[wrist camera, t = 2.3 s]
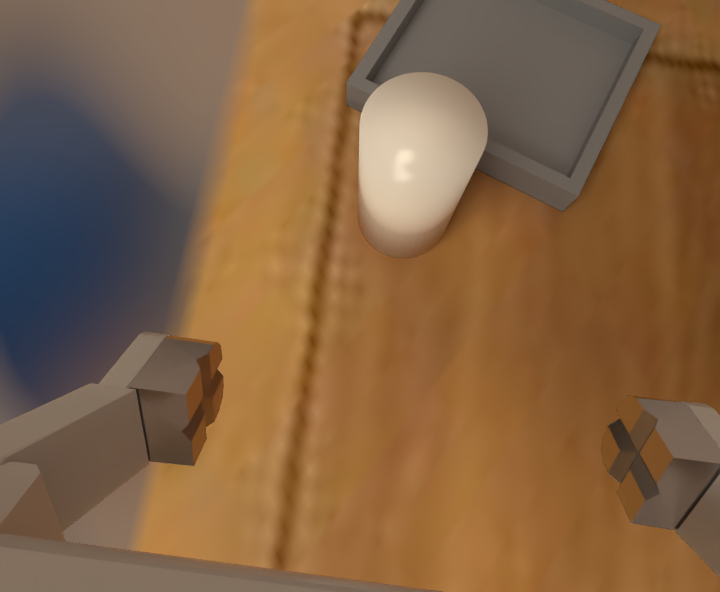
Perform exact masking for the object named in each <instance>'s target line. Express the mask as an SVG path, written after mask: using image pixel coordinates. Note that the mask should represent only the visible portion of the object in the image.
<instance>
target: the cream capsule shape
mask: <svg viewBox="0 0 720 592" xmlns="http://www.w3.org/2000/svg"><path fill="white" fill-rule="evenodd" d="M487 137H488V125H487V119H486V116H485V113H484V111H483V108H482V106H481V104H480V103H479V101H478V100H477V98H476V97H475V96H474V95H473V94H472V93H471V92H470V91H469V90H468V89H467V88H466V87H464V86H463V85H462V84H460V83H459V82H457V81H455V80H453V79H451V78H449V77H446V76H443V75H440V74H435V73H429V72H413V73H407V74H403V75H400V76H397V77H394V78H392V79H390V80H388V81H386V82H385V83H383V84H382V85H381V86H379V87H378V88H377V89H376V90H375V91H374V92H373V93H372V94H371V96H370V97H369V98H368V100H367V101H366V103H365V105H364V107H363V110H362V113H361V118H360V131H359V194H358V221H359V226H360V229H361V232H362V234H363V236H364V237H365V239H366V240H367V242H368V243H369V244H370V245H371V246H372V247H374V248H375V249H376V250H378V251H379V252H381V253H383V254H385V255H388V256H391V257H396V258H412V257H416V256H419V255H422V254H424V253H426V252H427V251H429V250H430V249H432V248H433V247H434V246H435V245H436V244H437V243H438V242H439V240H440V239H441V237H442V235H443V233H444V231H445V229H446V227H447V225H448V223H449V221H450V219H451V217H452V215H453V213H454V211H455V209H456V207H457V205H458V203H459V201H460V199H461V197H462V194H463V192H464V190H465V188H466V186H467V184H468V182H469V180H470V178H471V176H472V174H473V172H474V170H475V168H476V166H477V164H478V162H479V160H480V158H481V156H482V154H483V151H484V149H485V146H486V143H487Z"/></svg>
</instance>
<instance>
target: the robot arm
mask: <svg viewBox="0 0 720 592" xmlns="http://www.w3.org/2000/svg"><path fill="white" fill-rule="evenodd" d="M221 360H222V351H221V345H220V344H219V343H218V342H212V341H205V340H198V339H192V338H185V337H179V336H172V335H170V336H168V335H163V334H156V333H149V332H145V333H142V334H140V335H138V337H137V338H136V339H135V340H134V341H133V343H132V344H131V345H130V346H129V348H128V349H127V350H126V351H125V352H124V354H123V355H122V356H121V357H120V359H119V360H118V361H117V362H116V363H115V365H114V366H113V367H112V368H111V370H110V371H109V372H108V373H107V374H106V375H105V377H104V378H103V379H102V380H101V382H100V383H99V384H88V385H86V386H84V387H82V388H79V389H77V390H75V391H73V392H71V393H68V394H66V395H64V396H62V397H60V398H58V399H55V400H53V401H51V402H49V403H47V404H45V405H42V406H40V407H38V408H36V409H34V410H32V411H29V412H27V413H25V414H23V415H21V416H19V417H16V418H14V419H12V420H10V421H8V422H5V423H3V424H1V425H0V592H442V591H434V590H427V589H419V588H412V587H404V586H397V585H389V584H382V583H374V582H367V581H359V580H352V579H344V578H337V577H329V576H322V575H314V574H307V573H299V572H291V571H284V570H276V569H269V568H261V567H254V566H246V565H239V564H231V563H224V562H216V561H208V560H201V559H193V558H186V557H178V556H171V555H163V554H156V553H148V552H141V551H133V550H125V549H118V548H110V547H103V546H95V545H88V544H80V543H73V542H66V540H65V538H64V535H63V531H64V530H65V529H67V528H68V527H69V526H70V525H72V524H73V523H74V522H75V521H77V520H78V519H79V518H81V517H82V516H83V515H84V514H86V513H87V512H88V511H90V510H91V509H92V508H93V507H95V506H96V505H97V504H99V503H100V502H101V501H102V500H104V499H105V498H106V497H107V496H109V495H110V494H111V493H113V492H114V491H115V490H117V489H118V488H119V487H120V486H122V485H123V484H124V483H126V482H127V481H128V480H129V479H131V478H132V477H133V476H134V475H136V474H137V473H138V472H140V471H141V470H142V469H143V468H145V467H146V466H147V465H149V461H151V462H160V463H170V464H180V465H190V466H194V465H195V463H196V461H197V458H198V456H199V454H200V452H201V450H202V448H203V445H204V443H205V441H206V439H207V438H206V427H207V426H208V425H210V424H211V423H213V422H214V421H215V419H216V417H217V414H218V412H219V409H220V405H221V401H222V397H223V387H224V383H223V375H222V374H221V373H220V372H219V371H218V369H217V368H218V366H219V364H220V362H221ZM616 411H617V413H618V416H619V419H618V420H616V421H615V422H613V423H611V424H610V425H608V426H607V428H606V430H605V433H604V435H603V437H602V445H601V454H602V459H603V463H604V465H605V467H606V470H607V472H608V473H609V474H610V475H611V476H612V477H613V478H614V479H616V480H617V481H618V482H619V483H620V485H619V487H618V490H617V494H618V496H619V499H620V501H621V503H622V505H623V507H624V509H625V512H626V514H627V516H628V518H629V520H630V522H631V523H633V524H640V525H646V526H652V527H659V528H665V529H671V530H677V531H676V533H677V534H678V535H679V536H680V537H681V538H682V539H683V540H684V541H685V542H686V543H687V544H688V545H689V546H690V547H691V548H692V549H693V550H694V551H695V553H696V554H697V555H698V556H699V557H700V558H701V559H702V560H703V561H704V562H705V563H706V564H707V565H708V566H709V567H710V568H711V569H712V570H713V571H714V572H715V573H716V574H717V575H718V576H719V577H720V415H719V414H718V413H717V412H716V410H715V409H714V408H712V407H710V406H709V405H707V404H704V403H694V402H685V401H678V402H677V401H670V400H662V399H654V398H646V397H637V396H629V395H627V396H626V397H625V398H624V399H622V400H621V402H620V403H619V405H618V407H617V409H616Z"/></svg>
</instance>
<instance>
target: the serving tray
mask: <svg viewBox="0 0 720 592" xmlns="http://www.w3.org/2000/svg"><path fill="white" fill-rule="evenodd" d="M660 26H661V25H660V24H658V23H655V22H653V21H651V20H649V19H646V18H644V17H642V16H639V15H637V14H635V13H633V12H630V11H628V10H626V9H623V8H621V7H619V6H617V5H614V4H612V3H610V2H607V1H605V0H401V1H400V2H399V4H398V5H397V7H396V8H395V10H394V11H393V13H392V14H391V16H390V17H389V19H388V20H387V22H386V23H385V25H384V26H383V28H382V29H381V31H380V33H379V34H378V36H377V37H376V39H375V40H374V42H373V43H372V45H371V46H370V48H369V49H368V51H367V52H366V54H365V55H364V57H363V58H362V60H361V61H360V63H359V65H358V66H357V68H356V69H355V71H354V72H353V74H352V75H351V77H350V78H349V80H348V81H347V83H346V90H347V105H348V106H350V107H352V108H354V109H356V110H358V111H360V112H362V110H363V107H364V105H365V103H366V101H367V100H368V98H369V97H370V96H371V94H372V93H373V92H374V91H375V90H376V89H377V88H378V87H379V86H381V85H382V84H383V83H385V82H386V81H388V80H390V79H392V78H394V77H397V76H400V75H403V74H407V73H413V72H429V73H435V74H440V75H443V76H446V77H449V78H451V79H453V80H455V81H457V82H459V83H460V84H462V85H463V86H464V87H466V88H467V89H468V90H469V91H470V92H471V93H472V94H473V95H474V96H475V97H476V98H477V100H478V101H479V103H480V104H481V106H482V108H483V111H484V113H485V116H486V119H487V125H488V137H487V143H486V146H485V149H484V151H483V154H482V156H481V158H480V160H479V162H478V164H477V166H476V168H475V169H477V170H479V171H481V172H483V173H485V174H487V175H489V176H491V177H493V178H495V179H497V180H499V181H501V182H503V183H505V184H507V185H509V186H511V187H513V188H516V189H518V190H520V191H522V192H524V193H526V194H528V195H530V196H532V197H534V198H536V199H538V200H540V201H542V202H544V203H546V204H548V205H550V206H552V207H554V208H556V209H558V210H560V211H562V212H563V211H564V210H565V209H566V208H567V207H568V206H569V205H570V204H571V203H572V202H573V201H574V200H575V199H576V198H577V197H578V196H579V194H580V192H581V190H582V188H583V186H584V184H585V181H586V179H587V177H588V175H589V173H590V171H591V169H592V167H593V165H594V163H595V161H596V159H597V157H598V155H599V152H600V150H601V148H602V146H603V144H604V142H605V140H606V138H607V136H608V134H609V132H610V130H611V128H612V126H613V124H614V121H615V119H616V117H617V115H618V113H619V111H620V109H621V107H622V105H623V103H624V101H625V99H626V97H627V95H628V92H629V90H630V88H631V86H632V84H633V82H634V80H635V78H636V76H637V74H638V72H639V70H640V68H641V66H642V64H643V61H644V59H645V57H646V55H647V53H648V51H649V49H650V47H651V45H652V43H653V41H654V39H655V37H656V35H657V32H658V30H659V28H660Z"/></svg>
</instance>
